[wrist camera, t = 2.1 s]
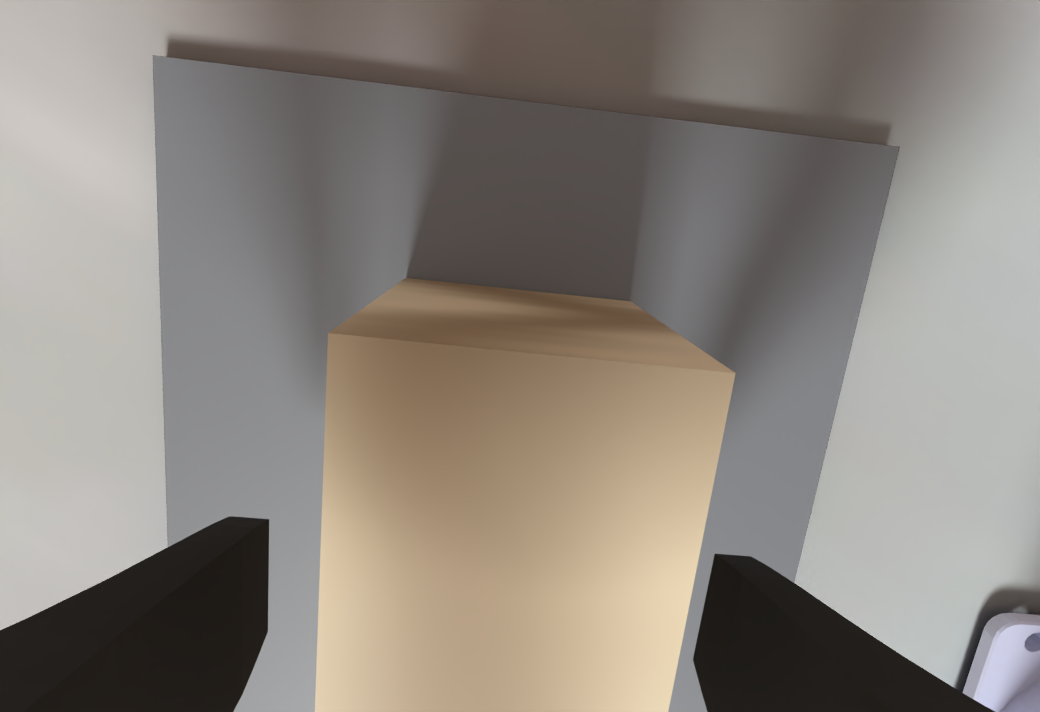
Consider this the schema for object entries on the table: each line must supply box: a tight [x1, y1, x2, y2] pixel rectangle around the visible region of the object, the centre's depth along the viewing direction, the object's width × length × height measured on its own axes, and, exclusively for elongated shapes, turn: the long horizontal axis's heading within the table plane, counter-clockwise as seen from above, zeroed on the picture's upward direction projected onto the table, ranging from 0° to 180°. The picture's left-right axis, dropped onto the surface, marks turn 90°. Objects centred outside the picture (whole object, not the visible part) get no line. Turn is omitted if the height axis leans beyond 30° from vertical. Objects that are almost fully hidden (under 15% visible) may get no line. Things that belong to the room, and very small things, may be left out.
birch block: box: [315, 278, 736, 712], centre depth 10 cm, size 4×9×6 cm, turn 174°
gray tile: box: [153, 55, 900, 712], centre depth 13 cm, size 14×16×1 cm
